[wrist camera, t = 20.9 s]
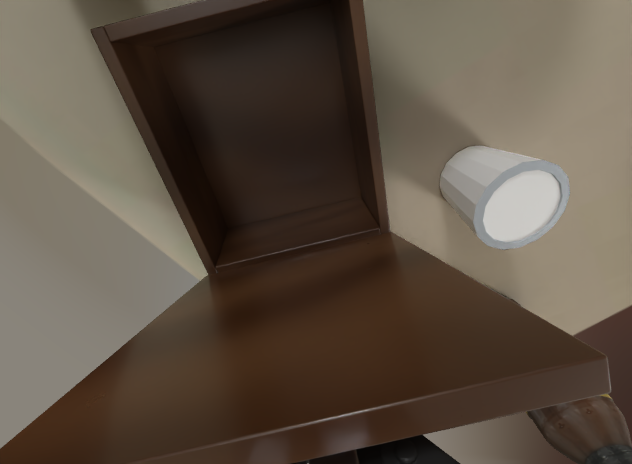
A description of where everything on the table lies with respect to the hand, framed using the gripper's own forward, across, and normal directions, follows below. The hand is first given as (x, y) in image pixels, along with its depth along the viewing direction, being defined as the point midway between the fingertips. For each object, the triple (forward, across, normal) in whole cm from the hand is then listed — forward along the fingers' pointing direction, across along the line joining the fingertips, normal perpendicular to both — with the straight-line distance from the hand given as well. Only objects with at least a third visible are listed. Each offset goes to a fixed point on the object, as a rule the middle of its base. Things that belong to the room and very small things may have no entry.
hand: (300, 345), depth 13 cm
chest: (+17, 0, -5) cm, 18 cm away
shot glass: (+17, -16, +3) cm, 23 cm away
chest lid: (+2, 0, -1) cm, 2 cm away
